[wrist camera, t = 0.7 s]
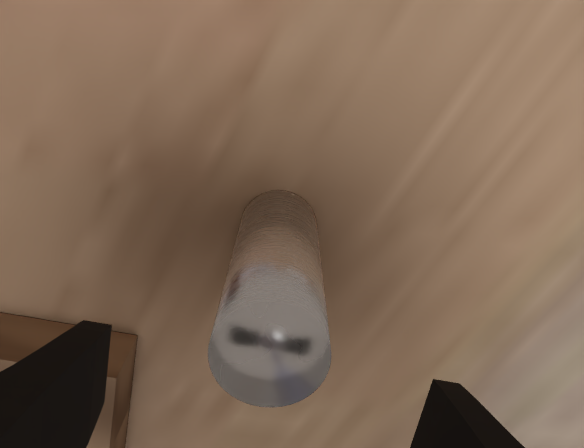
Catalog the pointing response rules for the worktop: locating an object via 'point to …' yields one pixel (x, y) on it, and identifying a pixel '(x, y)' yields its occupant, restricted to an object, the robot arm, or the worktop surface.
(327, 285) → the worktop surface
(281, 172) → the worktop surface
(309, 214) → the peg
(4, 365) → the hole block
